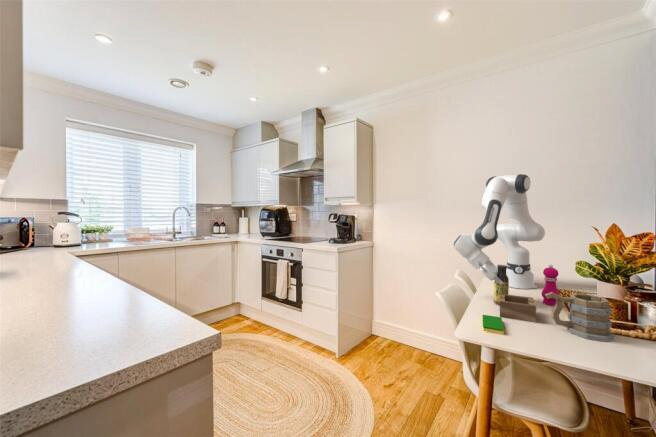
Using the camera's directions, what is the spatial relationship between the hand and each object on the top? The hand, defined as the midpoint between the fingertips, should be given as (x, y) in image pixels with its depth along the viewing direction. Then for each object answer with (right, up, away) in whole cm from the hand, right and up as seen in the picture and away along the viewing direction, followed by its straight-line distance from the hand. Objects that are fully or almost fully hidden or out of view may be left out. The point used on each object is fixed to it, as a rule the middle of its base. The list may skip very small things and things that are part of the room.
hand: (502, 281), depth 138 cm
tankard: (+9, -12, -31) cm, 35 cm away
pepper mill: (+23, -11, -1) cm, 26 cm away
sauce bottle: (0, -12, +1) cm, 12 cm away
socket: (-2, -12, -13) cm, 18 cm away
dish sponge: (-20, -13, -24) cm, 34 cm away
